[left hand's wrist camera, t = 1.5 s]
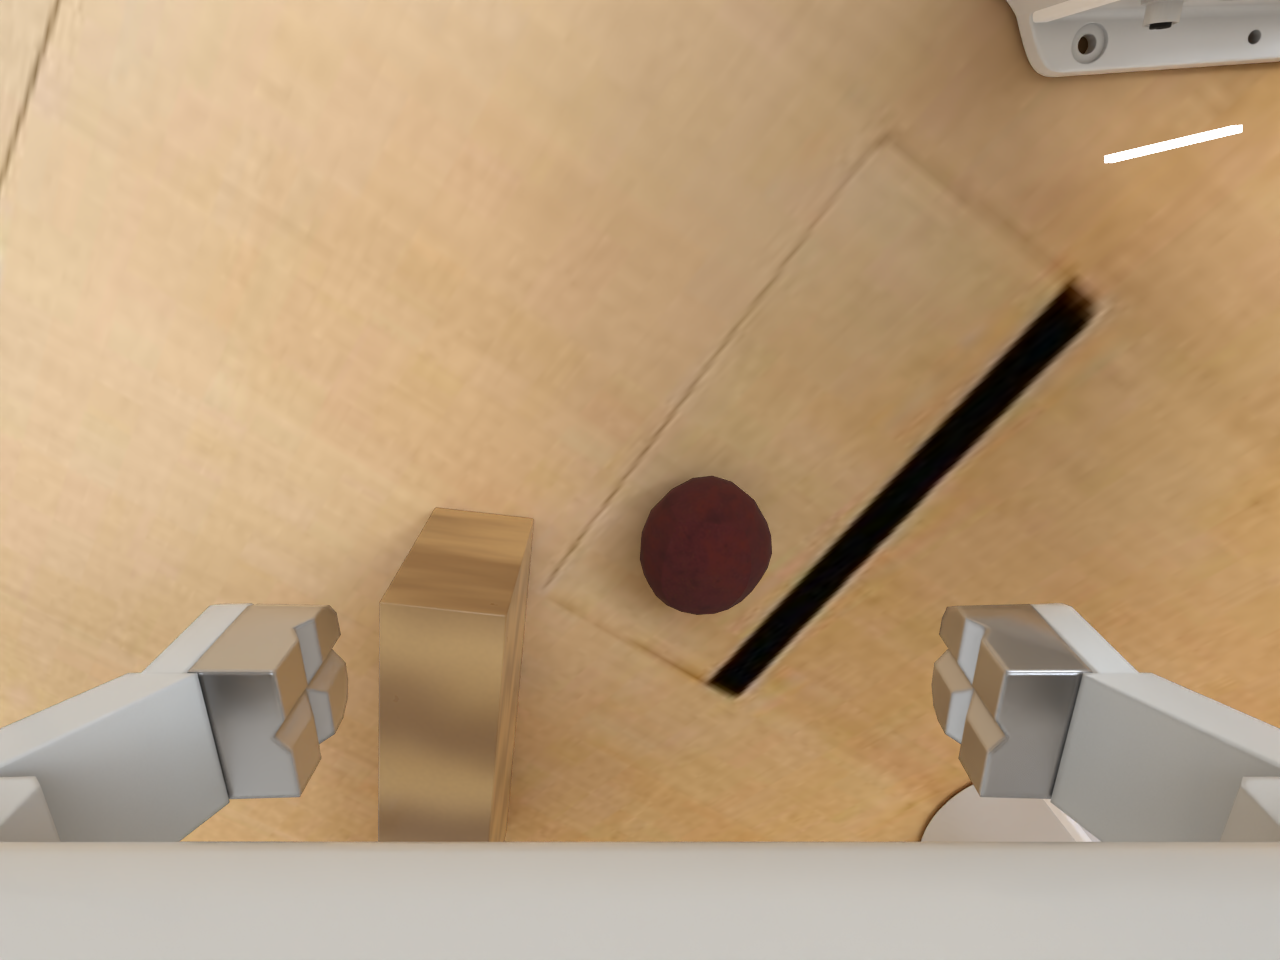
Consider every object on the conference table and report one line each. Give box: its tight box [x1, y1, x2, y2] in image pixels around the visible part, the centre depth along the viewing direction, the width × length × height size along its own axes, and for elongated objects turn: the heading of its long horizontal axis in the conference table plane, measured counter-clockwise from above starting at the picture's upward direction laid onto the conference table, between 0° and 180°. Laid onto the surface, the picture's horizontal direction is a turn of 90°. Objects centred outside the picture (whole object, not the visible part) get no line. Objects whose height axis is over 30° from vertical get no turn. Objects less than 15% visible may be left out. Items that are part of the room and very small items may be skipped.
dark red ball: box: [640, 476, 772, 615], centre depth 43 cm, size 7×8×7 cm
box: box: [378, 508, 534, 842], centre depth 46 cm, size 25×6×11 cm, turn 173°
